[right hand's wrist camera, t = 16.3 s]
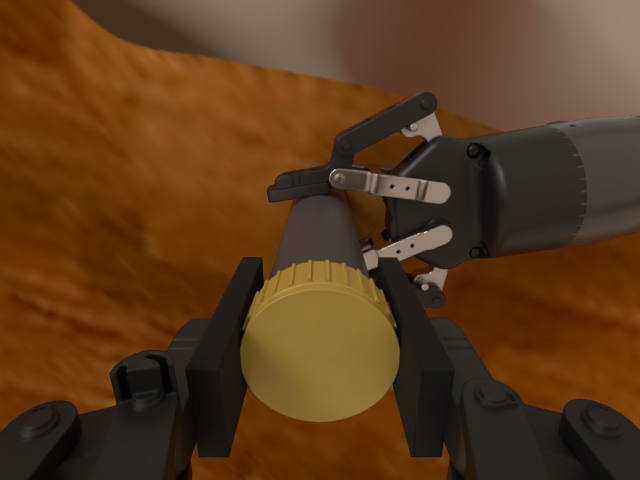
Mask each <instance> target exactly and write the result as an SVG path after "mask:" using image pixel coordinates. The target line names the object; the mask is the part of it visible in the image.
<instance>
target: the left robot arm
mask: <svg viewBox="0 0 640 480" xmlns="http://www.w3.org/2000/svg"><path fill="white" fill-rule="evenodd" d="M436 107H437V99H436V97H435V96H434V95H433V94H432V93H428V92H425V93H418V94H413V95H411V96H409V97H407V98H405V99H403V100H401V101H399V102H397V103H395V104H393V105H392V106H390V107H388V108H386V109H384V110H382V111H380V112H378V113H376V114H374V115H372V116H371V117H369V118H367V119H365V120H363V121H361V122H359V123H357V124H355V125H353V126H352V127H350V128H348V129H346V130H344V131H342V132H340V133H338V134H337V135H336V137H335V139H334V146H333V151H332V156H331V159H330V161H329V162H328V163H327V164H326V165H324V166H319V167H313V168H307V169H301V170H295V171H289V172H284V173H282V174H281V175H279V176H277V178H276V179H275V184H273V185H270V186H269V187H268V189H267V195H268V200H269V202H279V201H285V200H292V199H298V198H304V197H311V196H316V195H323V194H329V189H332V188H336V189H342V190H350V191H359V192H366V193H369V194H372V195H377V196H382V198H383V200H384V203H385V205H386V208H387V209H386V215H385V226H384V227H382V228H380V229H377V230H375V231H373V232H371V233H370V234H369V236H367V237H365V238H363V239H361V240H359V242H360V245H361V249H362V252H363V256H364V259H365V263H366V266H367V269H368V273H369V276H370V278H372V279H373V281H374V284H375V285H376V284H377V269H373V268H375V267H377V266H378V257H397V258H398V260H399V261H401V260H403V259H406V258H408V257H410V256H414V257H416V258H418V259H420V260H422V261H424V262H426V263H428V264H429V265H428V266H427V267H426V268H422V269H414V270H413V271H412V273H411V274H409V273H405V274H406V276H407V277H408V279H409V281H410V283H411V285H412V287H413V289H414V291H415V293H416V295H417V297H418V299H419V301H420V303H421V305H422V307H427V308H440V307H442V306H443V305H444V304H445V302H446V297H445V295H444V294H443V292H442V288H443V285H444V282H445V278H446V275H447V272H448V269H452V268H454V267H456V266H458V265H459V264H461V263H462V262H464V261H466V260H469V259H473V258H495V257H502V256H509V255H515V254H522V253H529V252H536V251H542V250H549V249H556V248H563V247H570V246H577V245H584V244H591V243H597V242H602V241H606V240H611V239H614V238H618V237H621V236H625V235H628V234H632V233H637V232H640V114H637V115H631V116H625V117H607V118H589V119H580V120H574V121H556V122H552V123H548V124H547V125H544V126H538V127H532V128H526V129H520V130H514V131H507V132H501V133H495V134H489V135H483V136H477V137H471V138H465V139H456V138H454V137H451V136H448V135H443V134H442V132H441V129H440V126H439V124H438V121H437V118H436V116H435V113H434V111H435V109H436ZM397 131H398V132H399V133H400V134H401V135H403V136H406V137H414V136H421V137H422V139H423V140H424V141H423V142H422V143H420V144H419V145H418V146H417V147H416V148H415V149H414V150H413V151H412V152H411V153H410V154H409V155H408V156H407V157H406V158H405V159H404V160H402V161H401V162H400V163H399V164H398V165H397V166H396V167H395V168H389V167H380V166H372V165H365V166H364V165H355V164H352V163H353V158H354V154H355V153H356V152H358V151H360V150H362V149H364V148H366V147H368V146H370V145H372V144H374V143H376V142H378V141H380V140H382V139H384V138H386V137H388V136H390V135H392V134H394V133H395V132H397Z"/></svg>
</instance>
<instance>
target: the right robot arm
mask: <svg viewBox="0 0 640 480" xmlns="http://www.w3.org/2000/svg"><path fill="white" fill-rule="evenodd" d="M263 286H264V281H263V264H262V257H243V259H242V260H241V262H240V264H239V266H238V268H237V270H236V272H235V274H234V276H233V278H232V280H231V282H230V284H229V286H228V288H227V290H226V291H225V293H224V295H223V297H222V299H221V301H220V303H219V305H218V307H217V309H216V311H215V313H214V315H213V317H212V319H192V320H190V321H189V322H188V323H186V324H185V325H184V326H183V327H181V328H180V329H179V331H178V333H177V334H176V336H175V337H174V340H173V341H172V342H171V344H170V345H169V347H168V350H166V352H164V351H160V350H147V351H143V352H139V353H136V354H133V355H131V356H129V357H127V358H125V359H123V360H122V361H121V362H119V363H118V364H116V365H115V366H114V368H113V369H112V370H111V372H110V373H109V375H110V379H111V383H112V387H113V391H114V395H115V399H116V405H115V406H112V407H108V408H105V409H101V410H97V411H92V412H88V413H84V414H80V415H78V412H77V409H76V407H75V406H74V405H73V404H72V403H71V402H68V401H62V400H60V401H52V402H47V403H44V404H41V405H38V406H36V407H33V408H31V409H30V410H28V411H26V412H24V413H22V414H21V415H19V416H18V417H17V418H16V419H14V420H13V421H12V422H11V423H9V424H8V425H7V426H6V427H5V428H4V429H3V430H2V431H1V432H0V480H192V467H191V461H190V458H191V456H192V453H193V450H194V447H195V445H196V442H197V447H198V454H199V457H229V455H230V451H231V447H232V443H233V440H234V436H235V432H236V428H237V424H238V420H239V417H240V413H241V409H242V405H243V401H244V397H245V394H246V390H247V386H248V384H247V382H246V381H245V378H244V376H243V373H242V367H241V357H240V344H241V340H242V337H243V334H244V331H242V328H243V325H244V322H245V320H246V317H247V314H248V311H249V308H250V305H251V304H252V303H253V300H254V297H255V294H256V292H257V291H258V292H260V290H261V289H262V288H263ZM376 287H377V288H378V289H379V290H381V289H382V291H383V293H384V296H385V299H386V302H388V303H389V306H390V309H391V311H392V314H393V317H394V320H395V323H396V326H397V329H395V332H396V334H397V337H398V341H399V346H400V359H399V369H398V373H397V375H396V378H395V380H394V382H393V384H392V385H393V389H394V393H395V397H396V400H397V404H398V408H399V412H400V416H401V420H402V423H403V427H404V431H405V435H406V439H407V443H408V446H409V450H410V454H411V457H441V455H442V449H443V443H444V442H445V445H446V448H447V450H448V453H449V456H450V461H449V467H448V473H447V478H446V480H640V430H639V429H638V428H637V427H636V426H635V425H634V424H633V423H632V422H631V421H630V420H628V419H627V418H626V417H625V416H623V415H622V414H621V413H619V412H618V411H616V410H614V409H612V408H610V407H608V406H607V405H604V404H601V403H598V402H595V401H592V400H584V399H576V400H571V401H569V402H568V403H567V404H566V405H565V406H564V410H563V413H558V412H554V411H550V410H546V409H541V408H537V407H533V406H530V405H527V404H524V403H523V401H522V400H521V398H520V396H519V395H518V394H517V393H516V392H515V391H514V390H513V389H511V388H510V387H509V386H507V385H505V384H503V383H501V382H499V381H496V380H494V379H493V378H492V376H491V375H490V373H489V371H488V370H487V368H486V367H485V365H484V364H483V362H482V361H481V359H480V357H479V356H478V354H477V353H476V351H475V350H474V349H473V346H472V345H471V343H470V342H469V340H467V337H466V335H465V334H464V332H463V331H462V329H461V328H460V327H459V326H458V325H457V324H455V323H454V322H453V321H451V320H450V319H449V318H428V316H427V314H426V312H425V310H424V308H423V307H422V305H421V303H420V301H419V299H418V297H417V295H416V293H415V291H414V289H413V287H412V285H411V283H410V281H409V279H408V277H407V276H406V274H405V272H404V270H403V268H402V266H401V264H400V262H399V260H398V258H397V257H378V268H377V284H376Z"/></svg>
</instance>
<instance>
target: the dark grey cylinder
mask: <svg viewBox="0 0 640 480" xmlns="http://www.w3.org/2000/svg"><path fill="white" fill-rule="evenodd" d="M308 260H312V262H314V261H325V260H329V262H334V263H338V264H342V263H345V264H346V266H348V267H351V268H353V269H355V270H357V269H359V270H361V273H362V274H363V275H365V276H366V277H367V278H369V279H370V276H369V273H368V269H367V266H366V263H365V259H364V256H363V252H362V249H361V245H360V242H359V239H358V235H357V232H356V228H355V225H354V222H353V218H352V215H351V211H350V208H349V205H348V201H347V198H346V194H345V191H344V190H342V189H336V188H332V189H329V194H323V195H316V196H311V197H304V198H298V199H293V202H292V205H291V209H290V212H289V216H288V219H287V222H286V226H285V229H284V232H283V236H282V239H281V243H280V246H279V249H278V253H277V256H276V259H275V263H274V266H273V270H272V273H271V276H270V279H271V278H272V277H274V276H275V275H276V274H277V271H279V270H280V271H283V270H285V269H287V268H289V267H292V264H294V263H295V264H296V265H297V264H302V263H306V262H308Z"/></svg>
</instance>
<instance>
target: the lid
mask: <svg viewBox="0 0 640 480" xmlns="http://www.w3.org/2000/svg"><path fill="white" fill-rule="evenodd" d="M395 329H397V326H396V323H395V320H394V317H393V314H392V311H391V309H390V306H389V303H388V302H386V299H385V296H384V293H383V291H382V289H381V290H379V289H378V288H377V287H376V285H375V284H374V281H373V279H372V278H370V279H369V278H367V277H366V276H365V275H363V274H362V273H361V270H359V269H357V270H355V269H353V268H351V267H348V266H346V264H345V263H342V264H338V263H334V262H329V260H325V261H314V262H312V260H308V262H306V263H302V264H297V265H296V264H295V263H294V264H292V267H289V268H287V269H285V270H283V271H280V270H279V271H277V274H276V275H275V276H274V277H272V278H271V279H270V280H269V281H268V280H266V281H265V283H264V286H263V288H262V289H261V290H260V292H258V291H257V292H256V294H255V297H254V300H253V303H252V304H251V305H250V308H249V311H248V314H247V317H246V320H245V322H244V325H243V328H242V331H244V334H243V337H242V340H241V344H240V357H241V367H242V373H243V376H244V378H245V381H246V382H247V384H248V386H249V387H250V389H251V390H252V391H253V393H254V394H255V395H256V396H257V397H258V398H259V399H260V400H261V401H262V402H263V403H265V404H266V405H267V406H269V407H270V408H272V409H273V410H275V411H277V412H279V413H281V414H283V415H286V416H288V417H292V418H295V419H299V420H304V421H312V422H328V421H336V420H341V419H345V418H348V417H352V416H354V415H357V414H359V413H361V412H363V411H365V410H367V409H368V408H370V407H371V406H373V405H374V404H375V403H377V402H378V401H379V400H380V399H381V398H382V397H383V396H384V395H385V394H386V393H387V391H388V390H389V389H390V387H391V385H392V384H393V382H394V380H395V378H396V375H397V373H398V369H399V359H400V346H399V341H398V337H397V334H396V332H395Z"/></svg>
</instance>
